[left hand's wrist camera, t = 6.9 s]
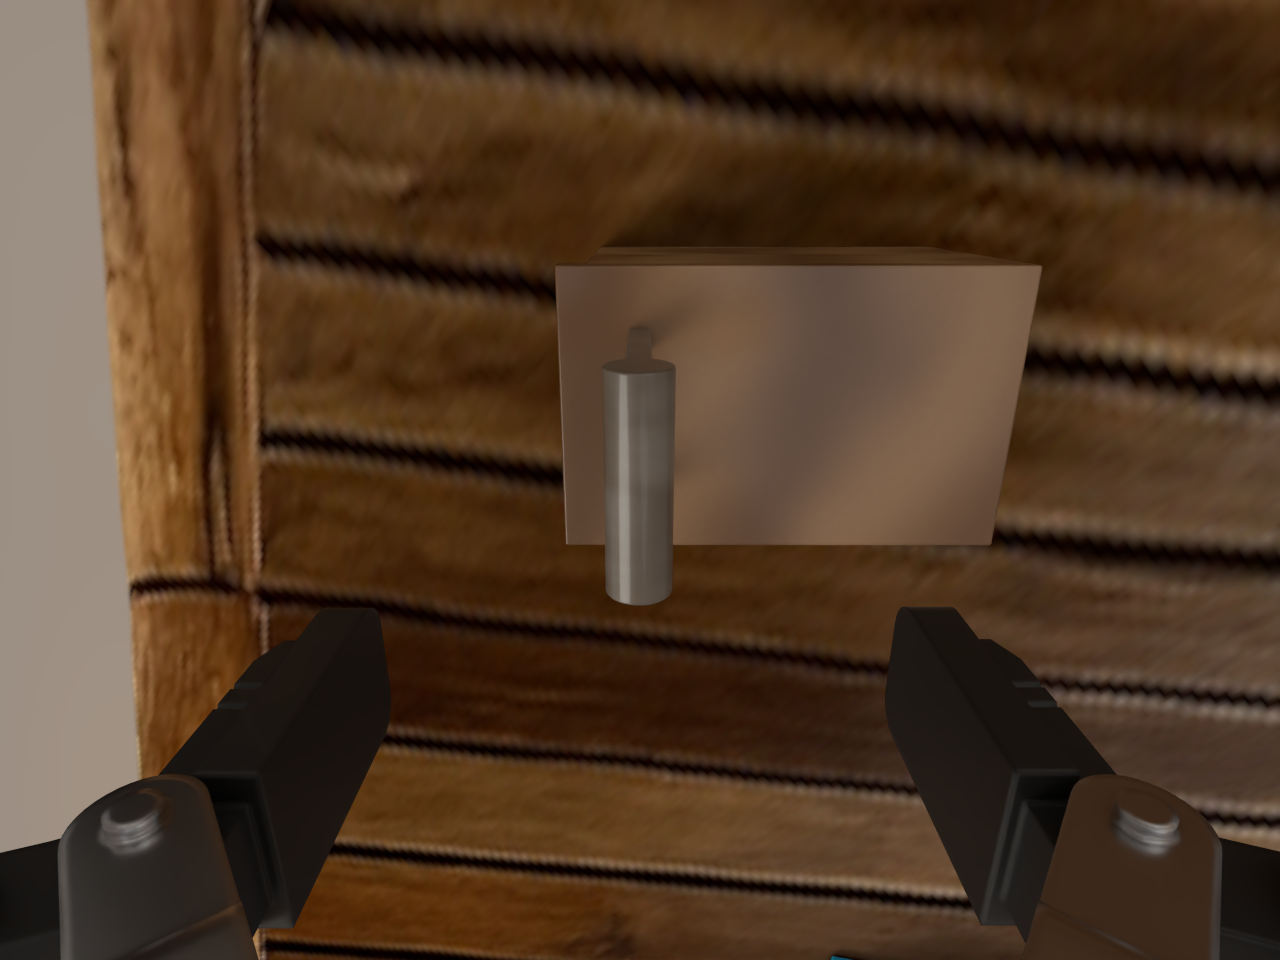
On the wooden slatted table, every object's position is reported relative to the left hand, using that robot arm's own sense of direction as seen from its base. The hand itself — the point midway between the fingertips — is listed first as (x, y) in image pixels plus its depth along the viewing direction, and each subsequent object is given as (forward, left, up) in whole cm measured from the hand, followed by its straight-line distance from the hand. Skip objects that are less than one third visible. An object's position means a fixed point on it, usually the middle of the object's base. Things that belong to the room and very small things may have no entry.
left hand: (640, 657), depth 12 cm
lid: (-1, +5, -15) cm, 15 cm away
